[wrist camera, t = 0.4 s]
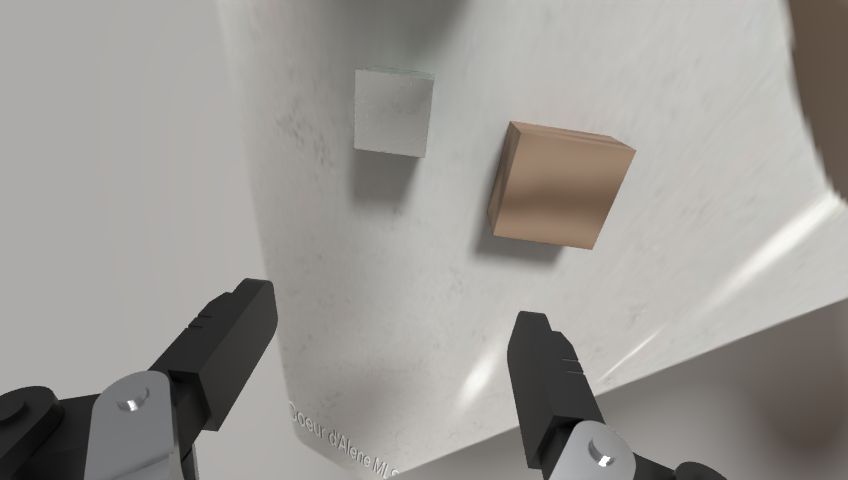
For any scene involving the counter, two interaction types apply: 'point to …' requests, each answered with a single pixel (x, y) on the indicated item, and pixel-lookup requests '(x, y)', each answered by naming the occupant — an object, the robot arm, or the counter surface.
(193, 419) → the robot arm
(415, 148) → the tea tin
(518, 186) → the walnut block
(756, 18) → the counter surface
